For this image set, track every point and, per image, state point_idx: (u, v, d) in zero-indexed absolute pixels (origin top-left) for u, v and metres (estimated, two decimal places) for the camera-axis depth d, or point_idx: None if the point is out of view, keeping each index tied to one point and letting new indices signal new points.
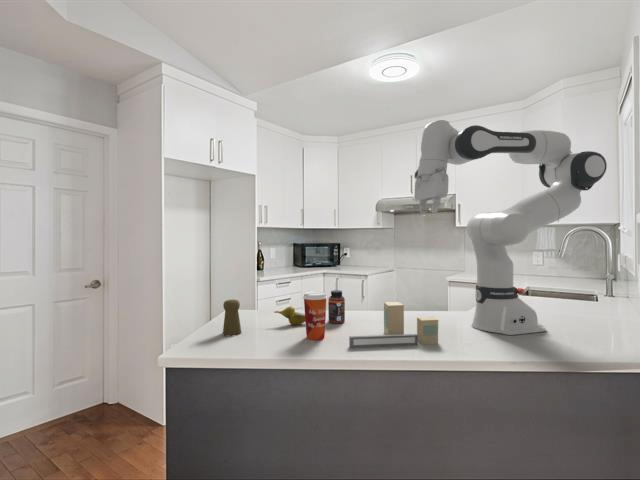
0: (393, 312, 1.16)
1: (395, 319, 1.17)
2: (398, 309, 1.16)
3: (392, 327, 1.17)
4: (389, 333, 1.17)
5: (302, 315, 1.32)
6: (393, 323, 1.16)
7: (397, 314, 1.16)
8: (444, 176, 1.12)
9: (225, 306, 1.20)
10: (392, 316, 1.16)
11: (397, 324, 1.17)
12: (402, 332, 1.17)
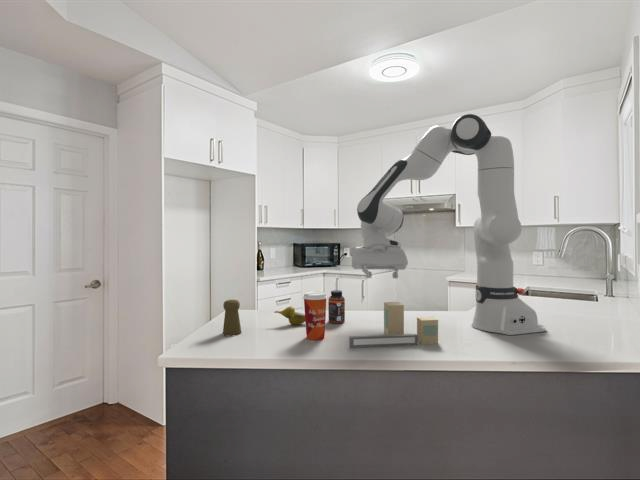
0: (393, 312, 1.16)
1: (395, 319, 1.16)
2: (398, 309, 1.16)
3: (392, 327, 1.17)
4: (389, 333, 1.17)
5: (302, 315, 1.32)
6: (393, 323, 1.16)
7: (397, 314, 1.16)
8: (350, 253, 1.37)
9: (225, 306, 1.20)
10: (392, 316, 1.16)
11: (397, 324, 1.17)
12: (402, 332, 1.17)
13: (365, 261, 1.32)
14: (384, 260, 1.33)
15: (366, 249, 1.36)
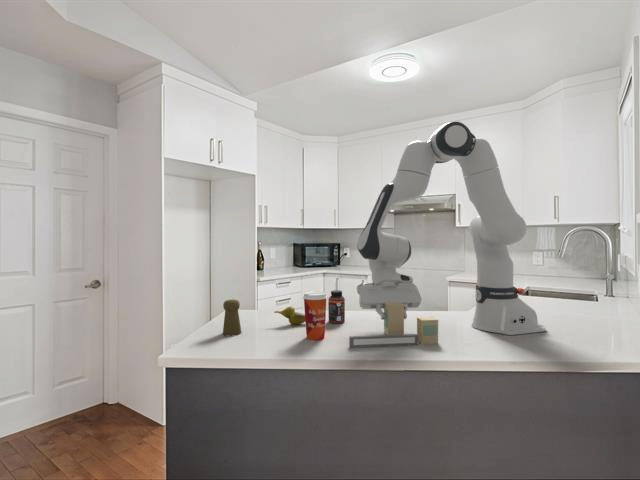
0: (393, 312, 1.16)
1: (395, 319, 1.16)
2: (398, 309, 1.16)
3: (392, 327, 1.17)
4: (389, 333, 1.16)
5: (302, 315, 1.32)
6: (393, 323, 1.16)
7: (397, 314, 1.16)
8: (357, 291, 1.25)
9: (225, 306, 1.20)
10: (392, 316, 1.16)
11: (397, 324, 1.17)
12: (402, 332, 1.17)
13: (374, 300, 1.20)
14: (395, 299, 1.21)
15: (375, 286, 1.24)
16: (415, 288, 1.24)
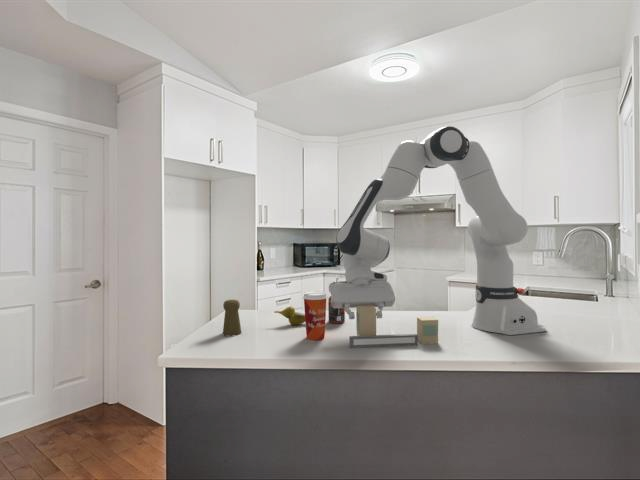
0: (365, 316, 1.12)
1: (367, 323, 1.12)
2: (370, 313, 1.12)
3: (364, 332, 1.12)
4: None
5: (302, 315, 1.32)
6: (365, 328, 1.12)
7: (369, 318, 1.12)
8: (329, 289, 1.20)
9: (225, 306, 1.20)
10: (364, 320, 1.12)
11: (369, 329, 1.12)
12: None
13: (345, 299, 1.15)
14: (367, 297, 1.16)
15: (348, 284, 1.19)
16: (389, 286, 1.19)
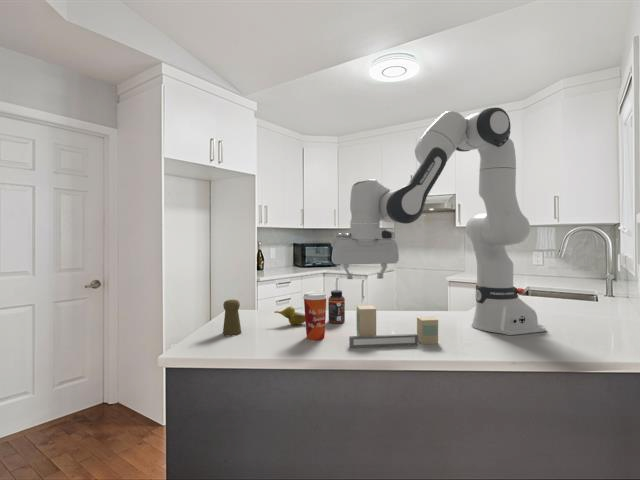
0: (365, 316, 1.12)
1: (367, 323, 1.12)
2: (370, 313, 1.12)
3: (364, 332, 1.12)
4: None
5: (302, 315, 1.32)
6: (365, 328, 1.12)
7: (369, 318, 1.12)
8: (331, 244, 1.12)
9: (225, 306, 1.20)
10: (364, 320, 1.12)
11: (369, 329, 1.12)
12: None
13: (347, 261, 1.11)
14: (370, 259, 1.12)
15: (351, 241, 1.11)
16: (395, 247, 1.12)
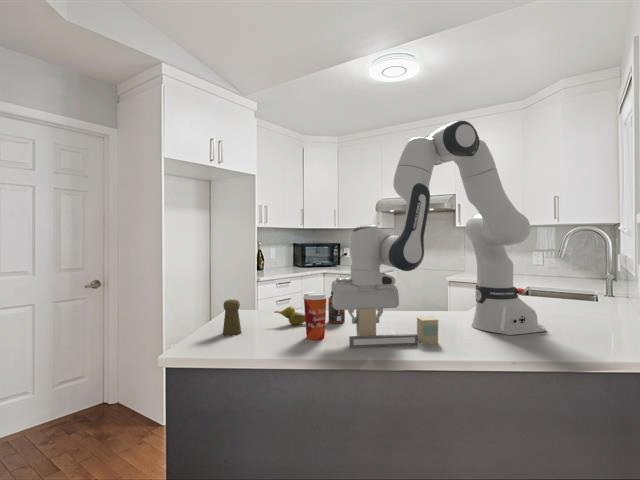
0: (365, 316, 1.12)
1: (367, 323, 1.12)
2: (370, 313, 1.12)
3: (364, 332, 1.12)
4: None
5: (302, 315, 1.32)
6: (365, 327, 1.12)
7: (369, 318, 1.12)
8: (331, 289, 1.13)
9: (225, 306, 1.20)
10: (364, 320, 1.12)
11: (369, 328, 1.12)
12: None
13: (347, 306, 1.12)
14: (370, 304, 1.12)
15: (352, 287, 1.12)
16: (395, 292, 1.12)
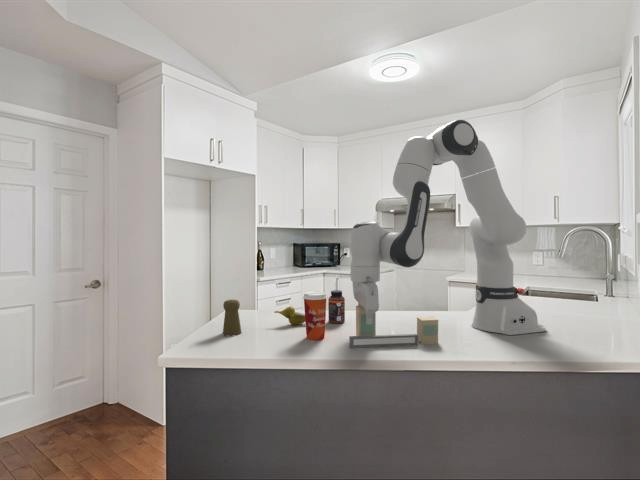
0: None
1: None
2: None
3: None
4: None
5: (302, 315, 1.32)
6: None
7: None
8: (372, 291, 1.03)
9: (225, 306, 1.20)
10: None
11: None
12: None
13: None
14: None
15: None
16: None
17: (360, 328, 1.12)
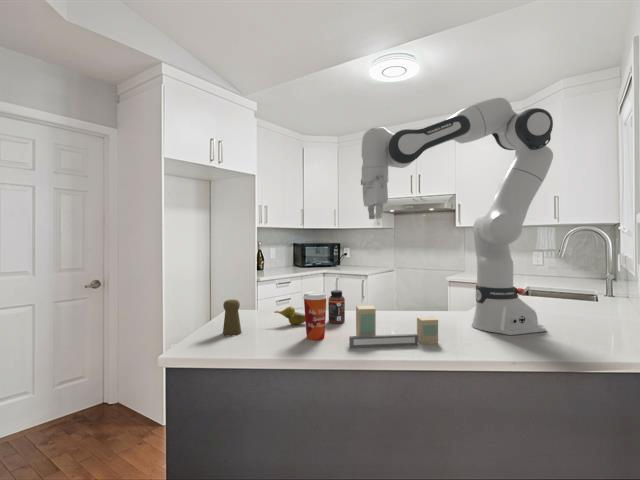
0: None
1: None
2: None
3: None
4: None
5: (302, 315, 1.32)
6: None
7: None
8: (382, 183, 1.15)
9: (225, 306, 1.20)
10: None
11: None
12: None
13: None
14: None
15: None
16: None
17: (360, 328, 1.12)
